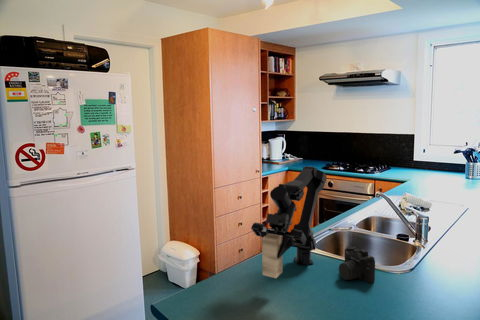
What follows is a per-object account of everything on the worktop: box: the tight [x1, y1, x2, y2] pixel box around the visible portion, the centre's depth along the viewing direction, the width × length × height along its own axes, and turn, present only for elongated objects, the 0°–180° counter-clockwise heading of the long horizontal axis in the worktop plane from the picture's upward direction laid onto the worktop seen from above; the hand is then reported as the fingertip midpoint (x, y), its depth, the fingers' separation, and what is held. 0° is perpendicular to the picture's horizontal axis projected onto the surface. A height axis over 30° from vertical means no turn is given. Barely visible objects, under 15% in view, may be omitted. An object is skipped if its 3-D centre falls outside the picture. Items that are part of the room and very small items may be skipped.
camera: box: [338, 246, 376, 284], centre depth 133 cm, size 14×11×10 cm
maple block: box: [261, 233, 283, 279], centre depth 121 cm, size 5×5×13 cm
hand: (270, 256), depth 120 cm, fingers closed on maple block, 5 cm apart
